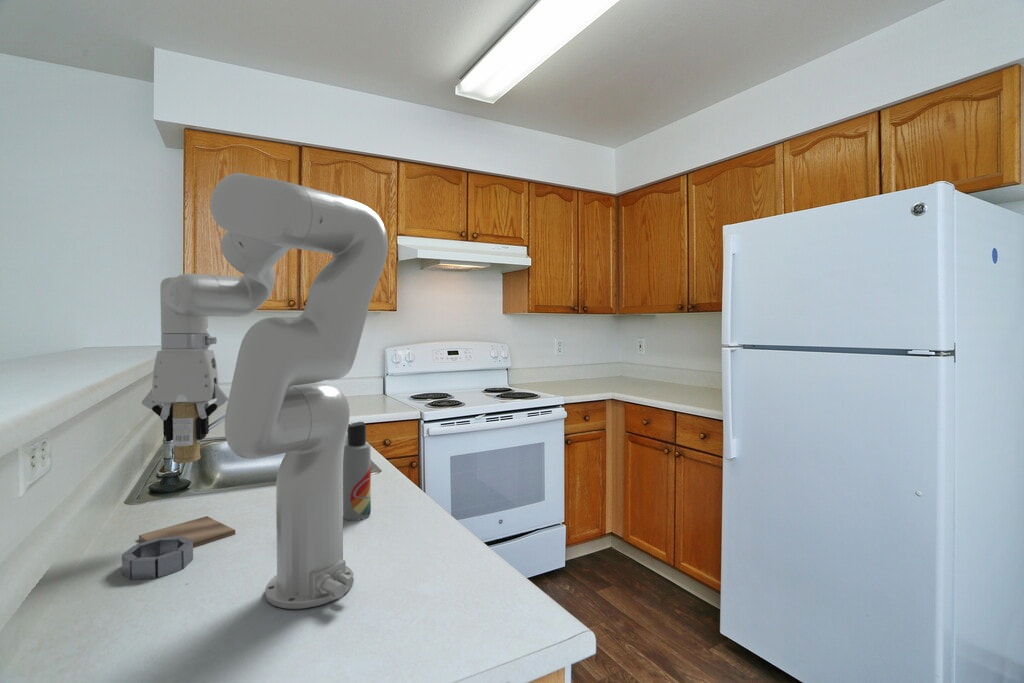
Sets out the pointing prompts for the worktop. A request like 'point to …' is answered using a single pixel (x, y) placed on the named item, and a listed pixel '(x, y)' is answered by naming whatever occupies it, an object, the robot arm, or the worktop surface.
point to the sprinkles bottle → (185, 431)
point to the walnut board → (193, 531)
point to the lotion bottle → (356, 473)
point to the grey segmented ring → (157, 557)
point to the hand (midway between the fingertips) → (186, 438)
